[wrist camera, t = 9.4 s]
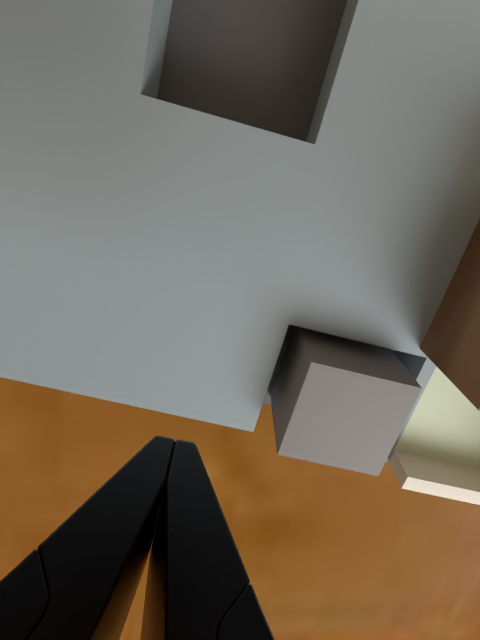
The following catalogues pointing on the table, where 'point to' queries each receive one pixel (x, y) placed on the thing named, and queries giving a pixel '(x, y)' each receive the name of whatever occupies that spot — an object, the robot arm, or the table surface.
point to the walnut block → (459, 326)
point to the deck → (238, 200)
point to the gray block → (340, 401)
